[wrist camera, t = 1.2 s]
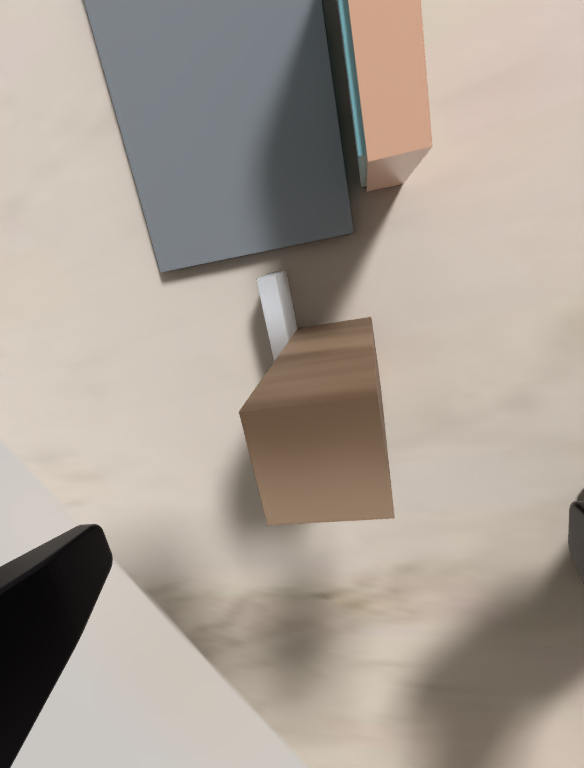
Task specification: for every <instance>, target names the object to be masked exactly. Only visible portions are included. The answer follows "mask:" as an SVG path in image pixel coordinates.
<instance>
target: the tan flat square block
mask: <svg viewBox="0 0 584 768" xmlns="http://www.w3.org/2000/svg"><path fill="white" fill-rule="evenodd" d="M337 5H338V13H339V21H340V28H341V36H342V44H343V51H344V59H345V67H346V74H347V82H348V90H349V98H350V105H351V113H352V121H353V128H354V136H355V144H356V151H357V159H358V167H359V174H360V182H361V187H365V186H366V191H367V192H368V191H373V190H377V189H382V188H386V187H391V186H395V185H400V184H403V183H404V182H405V181H406V180H407V178H408V177H409V176H410V174H411V173H412V172H413V171H414V169H415V168H416V167H417V165H418V164H419V163H420V162H421V160H422V159H423V158H424V156H425V155H426V154H427V153H428V151H429V150H430V149H431V147H432V136H431V124H430V111H429V99H428V86H427V74H426V61H425V48H424V36H423V23H422V11H421V0H337Z"/></svg>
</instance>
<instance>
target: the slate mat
mask: <svg viewBox="0 0 584 768" xmlns="http://www.w3.org/2000/svg"><path fill="white" fill-rule="evenodd" d="M84 2H85V6H86V10H87V13H88V17H89V20H90V24H91V27H92V31H93V34H94V38H95V42H96V45H97V49H98V52H99V56H100V59H101V63H102V66H103V70H104V74H105V77H106V81H107V84H108V88H109V91H110V95H111V98H112V102H113V106H114V109H115V113H116V116H117V120H118V123H119V127H120V130H121V134H122V138H123V141H124V145H125V148H126V152H127V155H128V159H129V162H130V166H131V170H132V173H133V177H134V180H135V184H136V187H137V191H138V194H139V198H140V202H141V205H142V209H143V212H144V216H145V219H146V223H147V226H148V230H149V234H150V237H151V241H152V244H153V248H154V251H155V255H156V258H157V262H158V266H159V269H160V272H165V271H170V270H175V269H180V268H185V267H190V266H195V265H200V264H204V263H209V262H214V261H219V260H224V259H229V258H234V257H239V256H243V255H248V254H253V253H258V252H263V251H268V250H273V249H278V248H283V247H287V246H292V245H297V244H302V243H307V242H312V241H317V240H322V239H326V238H331V237H336V236H341V235H346V234H351V233H354V230H353V222H352V215H351V208H350V201H349V194H348V187H347V179H346V172H345V165H344V158H343V151H342V143H341V136H340V129H339V122H338V115H337V107H336V100H335V93H334V86H333V79H332V71H331V64H330V57H329V50H328V43H327V35H326V28H325V21H324V14H323V7H322V0H84Z"/></svg>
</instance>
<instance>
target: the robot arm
mask: <svg viewBox="0 0 584 768" xmlns="http://www.w3.org/2000/svg"><path fill="white" fill-rule="evenodd" d="M568 544H569V550H570V553H571V556H572V559H573V561H574V563H575V566H576V568H577V570H578V572H579V575H580V577H581V579H582V581H583V584H584V501H574V502H573V503H571V505H570V508H569V533H568ZM112 561H113V558H112V553H111V550H110V548H109V545H108V542H107V540H106V537H105V534H104V532H103V529H102V528H101V527H100V526H99V525H97V524H86V525H79V526H76V527H75V528H73V529H71V530H69V531H67V532H65V533H63V534H61V535H60V536H58V537H56V538H54V539H52V540H50V541H48V542H46V543H44V544H43V545H41V546H39V547H37V548H35V549H33V550H31V551H29V552H27V553H25V554H24V555H22V556H20V557H18V558H16V559H14V560H12V561H10V562H8V563H6V564H5V565H3V566H1V567H0V768H10V767H11V765H12V764H13V762H14V760H15V758H16V756H17V754H18V752H19V751H20V749H21V747H22V745H23V743H24V741H25V740H26V738H27V736H28V734H29V732H30V730H31V728H32V727H33V725H34V723H35V721H36V719H37V717H38V716H39V713H40V712H41V710H42V708H43V706H44V704H45V703H46V701H47V699H48V697H49V695H50V693H51V691H52V690H53V688H54V686H55V684H56V682H57V681H58V679H59V677H60V675H61V673H62V671H63V669H64V668H65V666H66V664H67V662H68V660H69V658H70V656H71V654H72V653H73V651H74V649H75V647H76V645H77V643H78V641H79V639H80V637H81V635H82V633H83V631H84V628H85V626H86V624H87V621H88V619H89V617H90V615H91V613H92V610H93V608H94V606H95V604H96V601H97V599H98V597H99V594H100V592H101V590H102V587H103V585H104V583H105V581H106V578H107V576H108V574H109V572H110V569H111V567H112Z"/></svg>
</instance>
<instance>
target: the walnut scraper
mask: <svg viewBox="0 0 584 768" xmlns="http://www.w3.org/2000/svg"><path fill="white" fill-rule="evenodd" d="M256 280H257V284H258V289H259V294H260V298H261V303H262V308H263V312H264V317H265V322H266V326H267V331H268V336H269V340H270V345H271V350H272V354H273V359H274V363H273V364H272V365H271V367H270V368H269V370H268V371H267V373H266V374H265V375H264V377H263V378H262V380H261V381H260V383H259V384H258V385H257V387H256V388H255V390H254V391H253V392H252V394H251V395H250V397H249V398H248V400H247V401H246V402H245V404H244V405H243V407H242V408H241V410H240V411H239V414H240V418H241V422H242V426H243V430H244V434H245V438H246V442H247V446H248V450H249V454H250V458H251V462H252V466H253V470H254V474H255V478H256V482H257V486H258V490H259V494H260V498H261V502H262V506H263V510H264V514H265V518H266V522H267V526H268V525H285V524H302V523H320V522H337V521H354V520H372V519H389V518H394V509H393V499H392V490H391V480H390V471H389V461H388V452H387V442H386V433H385V423H384V414H383V404H382V394H381V386H380V378H379V371H378V363H377V356H376V348H375V341H374V334H373V326H372V319H371V317H367V318H361V319H355V320H349V321H342V322H336V323H330V324H324V325H317V326H311V327H305V328H299V329H297V325H296V319H295V314H294V309H293V304H292V298H291V293H290V288H289V283H288V278H287V272H286V270H285V271H279V272H274V273H269V274H267V275H265V276H262V277H260V278H257V279H256Z"/></svg>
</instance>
